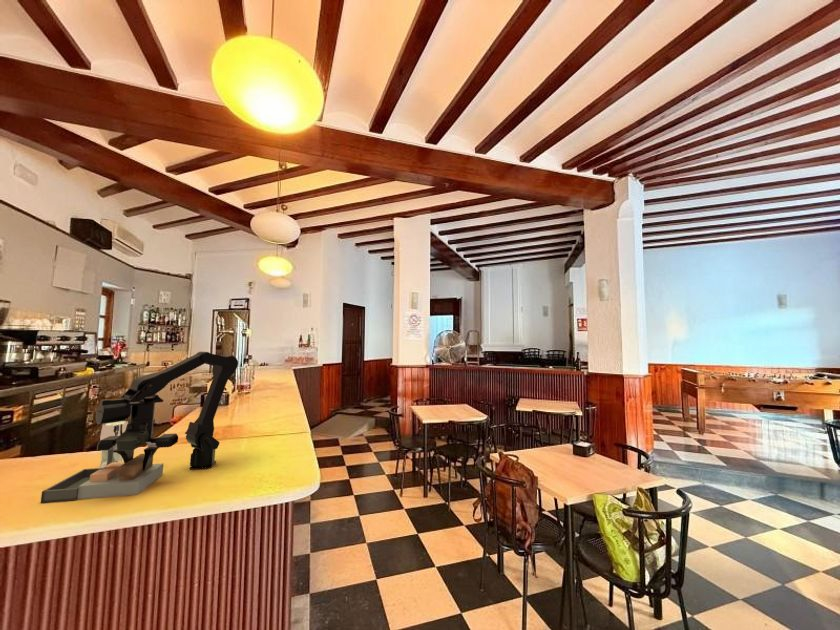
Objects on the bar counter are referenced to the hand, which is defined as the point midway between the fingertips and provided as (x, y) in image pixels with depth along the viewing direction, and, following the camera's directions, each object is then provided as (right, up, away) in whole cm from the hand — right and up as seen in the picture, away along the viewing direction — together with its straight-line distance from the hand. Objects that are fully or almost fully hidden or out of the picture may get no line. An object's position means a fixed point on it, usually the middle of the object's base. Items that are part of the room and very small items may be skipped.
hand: (136, 470), depth 101 cm
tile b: (-6, 0, -5) cm, 8 cm away
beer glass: (-19, -5, +12) cm, 23 cm away
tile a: (-8, -1, +1) cm, 8 cm away
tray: (-13, -4, -4) cm, 14 cm away
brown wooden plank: (0, -1, 0) cm, 1 cm away
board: (-3, -4, -1) cm, 5 cm away
